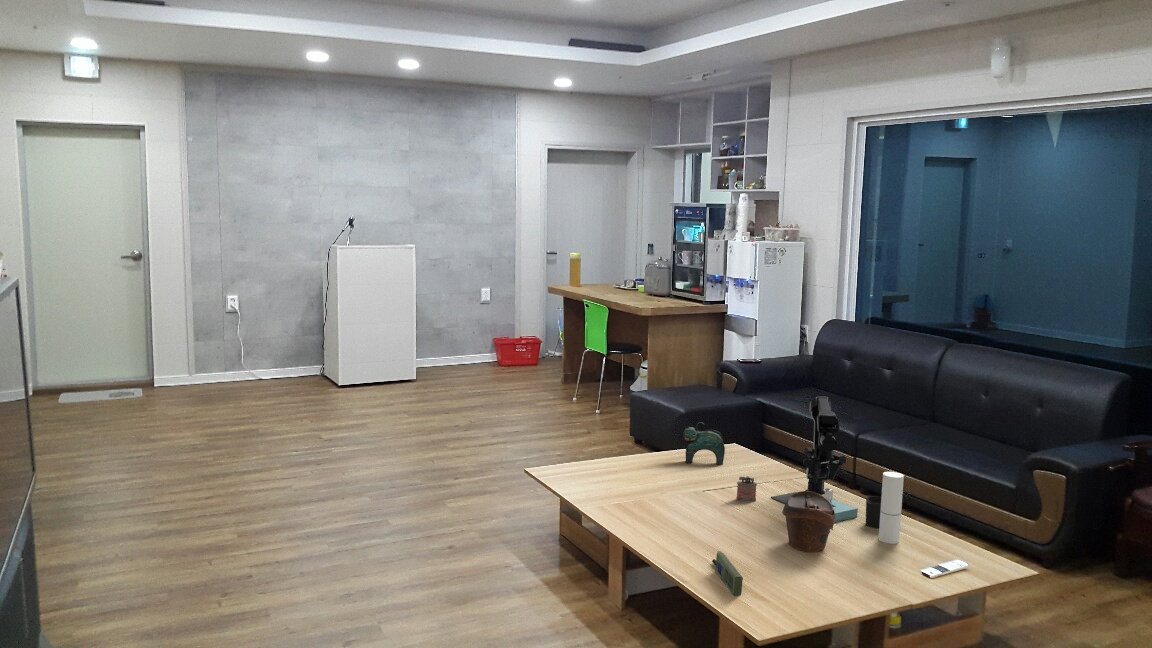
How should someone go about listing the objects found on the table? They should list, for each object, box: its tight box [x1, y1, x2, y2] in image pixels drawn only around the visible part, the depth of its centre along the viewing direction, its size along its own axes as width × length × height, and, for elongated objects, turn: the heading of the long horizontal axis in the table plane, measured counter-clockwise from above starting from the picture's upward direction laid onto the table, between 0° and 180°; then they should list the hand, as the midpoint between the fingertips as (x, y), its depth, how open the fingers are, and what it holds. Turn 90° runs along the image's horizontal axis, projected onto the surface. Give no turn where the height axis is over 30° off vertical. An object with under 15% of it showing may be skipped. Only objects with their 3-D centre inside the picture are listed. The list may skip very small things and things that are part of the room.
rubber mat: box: [770, 491, 797, 505], centre depth 364 cm, size 14×14×1 cm
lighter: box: [736, 476, 758, 502], centre depth 363 cm, size 8×3×10 cm, turn 84°
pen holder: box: [865, 495, 881, 530], centre depth 337 cm, size 9×9×10 cm
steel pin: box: [824, 487, 834, 505], centre depth 348 cm, size 3×3×10 cm
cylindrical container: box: [878, 471, 905, 545], centre depth 320 cm, size 7×7×25 cm
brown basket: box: [781, 490, 835, 553], centre depth 313 cm, size 18×20×18 cm
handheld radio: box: [711, 550, 744, 597], centre depth 284 cm, size 7×3×25 cm
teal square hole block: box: [823, 496, 859, 523], centre depth 348 cm, size 16×16×4 cm
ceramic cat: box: [682, 421, 726, 466], centre depth 415 cm, size 20×6×20 cm, turn 80°
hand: (823, 481), depth 353 cm, fingers open, 9 cm apart
